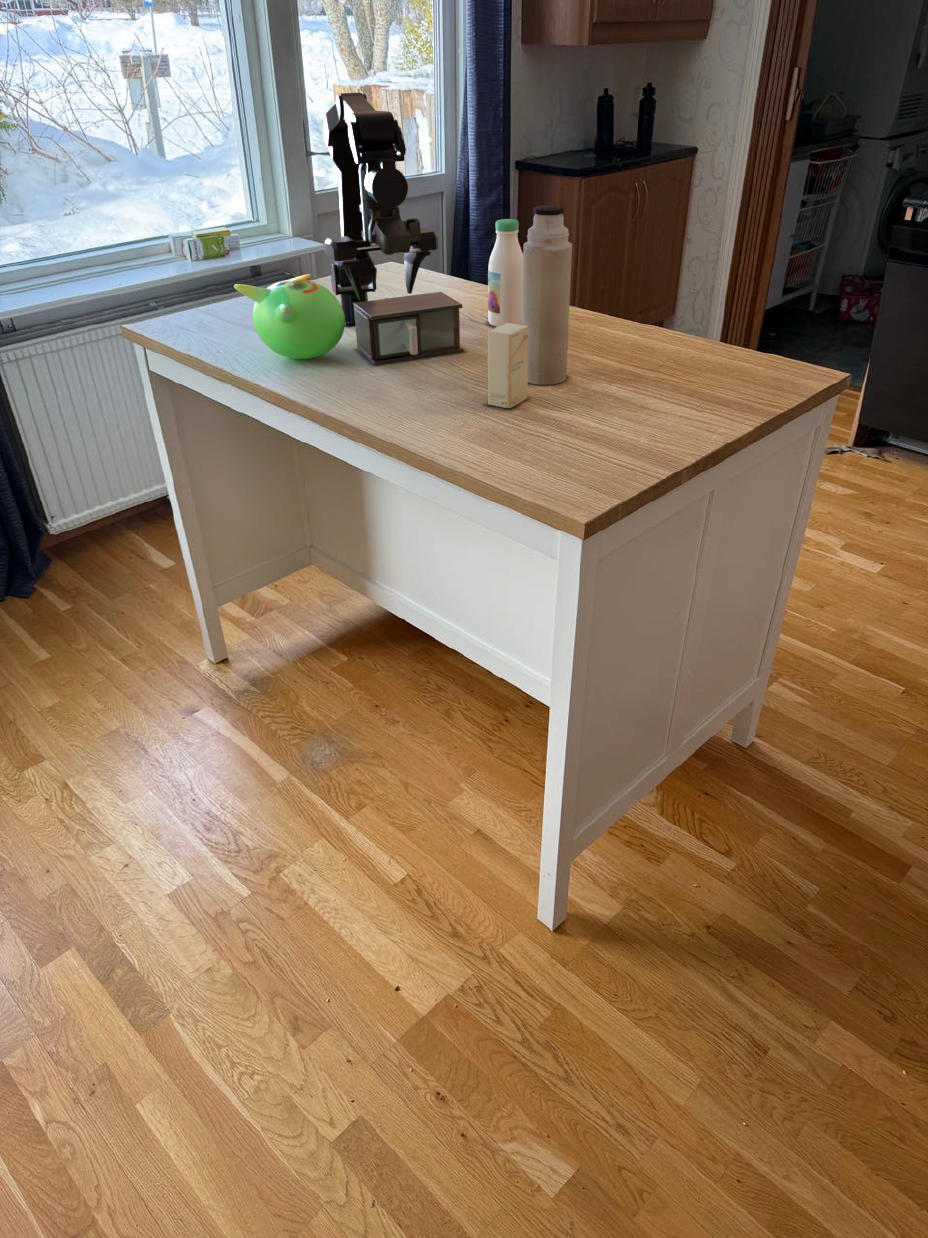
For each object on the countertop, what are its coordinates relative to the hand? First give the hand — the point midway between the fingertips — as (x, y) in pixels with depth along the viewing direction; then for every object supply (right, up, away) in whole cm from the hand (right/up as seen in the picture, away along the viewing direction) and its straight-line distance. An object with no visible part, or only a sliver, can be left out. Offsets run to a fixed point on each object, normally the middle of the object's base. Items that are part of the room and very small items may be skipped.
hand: (385, 296), depth 157 cm
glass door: (+3, -8, +10) cm, 13 cm away
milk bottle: (+23, +6, +32) cm, 39 cm away
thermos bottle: (+28, -14, +3) cm, 31 cm away
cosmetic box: (+21, -20, -7) cm, 30 cm away
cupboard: (+3, -4, +18) cm, 18 cm away
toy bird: (-18, -6, +16) cm, 24 cm away
